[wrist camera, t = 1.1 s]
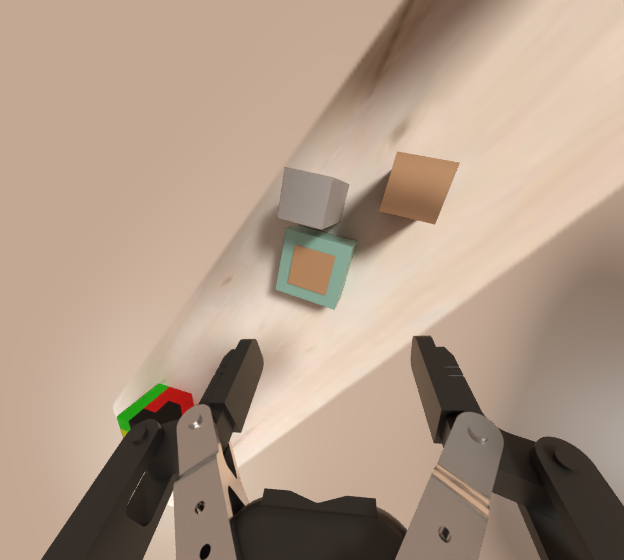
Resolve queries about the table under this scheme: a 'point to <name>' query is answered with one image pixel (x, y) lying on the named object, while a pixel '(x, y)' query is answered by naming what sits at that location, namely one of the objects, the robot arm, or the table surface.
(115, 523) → the robot arm
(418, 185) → the walnut block
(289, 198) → the slate-grey block
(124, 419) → the puzzle toy
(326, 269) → the teal base block
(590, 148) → the table surface
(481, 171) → the table surface
